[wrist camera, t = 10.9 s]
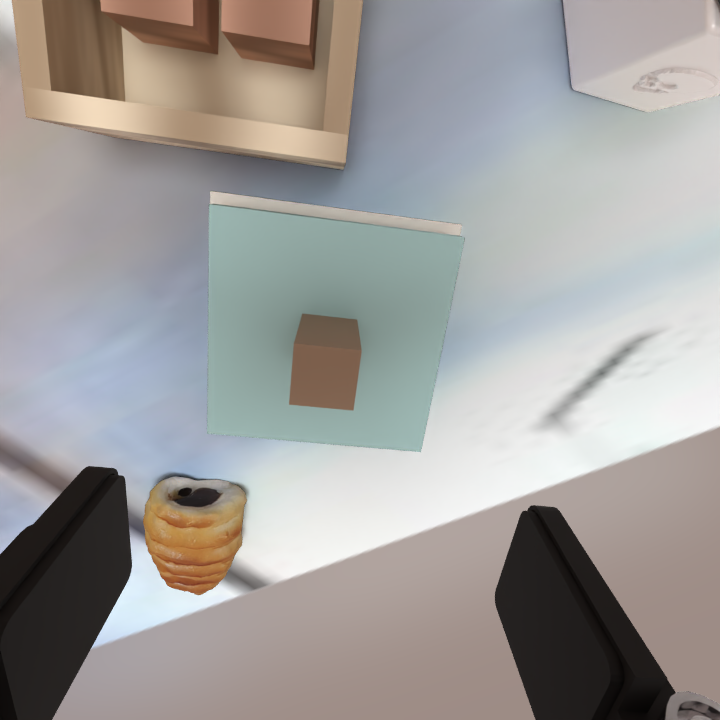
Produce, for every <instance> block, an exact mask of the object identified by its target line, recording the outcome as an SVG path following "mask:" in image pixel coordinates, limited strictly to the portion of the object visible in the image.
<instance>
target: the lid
mask: <svg viewBox="0 0 720 720" xmlns="http://www.w3.org/2000/svg"><path fill="white" fill-rule="evenodd" d="M464 240H465V238H464V237H462V236H458V235H450V234H443V233H435V232H427V231H420V230H412V229H405V228H397V227H389V226H382V225H374V224H366V223H359V222H351V221H344V220H336V219H328V218H321V217H313V216H305V215H298V214H290V213H282V212H275V211H267V210H260V209H252V208H244V207H237V206H229V205H221V204H209V254H208V389H207V434H217V435H229V436H240V437H252V438H264V439H275V440H287V441H298V442H310V443H322V444H333V445H345V446H357V447H368V448H380V449H392V450H403V451H415V452H421V449H422V444H423V439H424V434H425V430H426V425H427V420H428V415H429V410H430V405H431V400H432V396H433V391H434V386H435V381H436V376H437V371H438V366H439V361H440V357H441V352H442V347H443V342H444V337H445V332H446V327H447V323H448V318H449V313H450V308H451V303H452V298H453V293H454V288H455V284H456V279H457V274H458V269H459V264H460V259H461V254H462V249H463V245H464Z"/></svg>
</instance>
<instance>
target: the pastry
mask: <svg viewBox="0 0 720 720" xmlns="http://www.w3.org/2000/svg"><path fill="white" fill-rule="evenodd" d="M246 501H247V499H246V494H245V492H244V491H243V490H242V489H241V488H240V487H239V486H238V485H233V484H231V483H230V482H228V481H223V480H217V479H215V480H199V481H197V480H192V479H189V478H184V477H176V476H174V477H170V478H167V479H165V480H162V481H160V482H159V483H158V484H157V485H156V486H155V487H154V488H153V489H152V490H151V492H150V498H149V499H148V501H147V503H146V505H145V515H144V519H143V523H144V528H145V539H146V545H147V547H148V552H149V553H150V554H151V555H152V559H153V562H154V563H155V564H156V566H157V569H158V571H159V572H160V576H161V577H162V578H163V579H164V580H165V582H166V584H167V585H168V586H169V587H171V588H174V589H179V590H182V591H189V592H191V593H194V594H196V595H201V594H203V593H205V592H207V591H208V590H211V589H213V588H214V587H215V586H216V585H218V583H219V582H220V581H221V580H222V579H223V578H224V577H225V576H226V574H227V571H228V569H229V568H230V566H231V564H232V561H233V559H234V556H235V554H236V553H237V551H238V550H239V548H240V547H241V546H242V535H241V531H242V522H243V514H244V505H245V503H246Z"/></svg>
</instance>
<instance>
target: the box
mask: <svg viewBox="0 0 720 720" xmlns="http://www.w3.org/2000/svg"><path fill="white" fill-rule="evenodd" d="M12 5H13V14H14V22H15V30H16V38H17V47H18V55H19V63H20V71H21V79H22V88H23V96H24V104H25V112H26V117H28V118H32V119H37V120H41V121H45V122H50V123H54V124H59V125H63V126H67V127H72V128H76V129H80V130H85V131H89V132H93V133H98V134H102V135H107V136H111V137H116V138H123V139H130V140H137V141H144V142H151V143H158V144H165V145H172V146H179V147H187V148H194V149H201V150H208V151H215V152H222V153H229V154H236V155H243V156H250V157H257V158H264V159H271V160H278V161H285V162H292V163H299V164H306V165H313V166H320V167H327V168H335V169H342V170H344V166H345V163H346V154H347V145H348V135H349V126H350V117H351V107H352V98H353V89H354V80H355V70H356V61H357V52H358V42H359V33H360V24H361V14H362V5H363V0H12Z"/></svg>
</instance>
